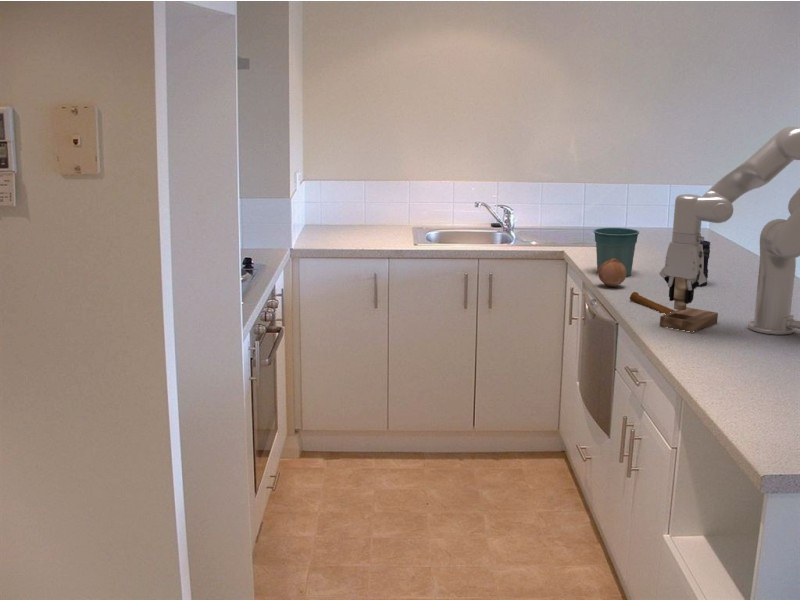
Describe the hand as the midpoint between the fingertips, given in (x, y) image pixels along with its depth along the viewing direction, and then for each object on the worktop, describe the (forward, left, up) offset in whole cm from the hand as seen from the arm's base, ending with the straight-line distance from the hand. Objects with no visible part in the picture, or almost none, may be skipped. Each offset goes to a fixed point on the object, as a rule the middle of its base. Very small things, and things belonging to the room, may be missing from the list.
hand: (680, 300), depth 271 cm
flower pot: (+53, -54, -8) cm, 76 cm away
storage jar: (+24, -59, -8) cm, 64 cm away
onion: (+42, -34, -8) cm, 54 cm away
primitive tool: (+17, -17, -8) cm, 25 cm away
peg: (0, 0, -2) cm, 2 cm away
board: (-1, -4, -7) cm, 9 cm away
